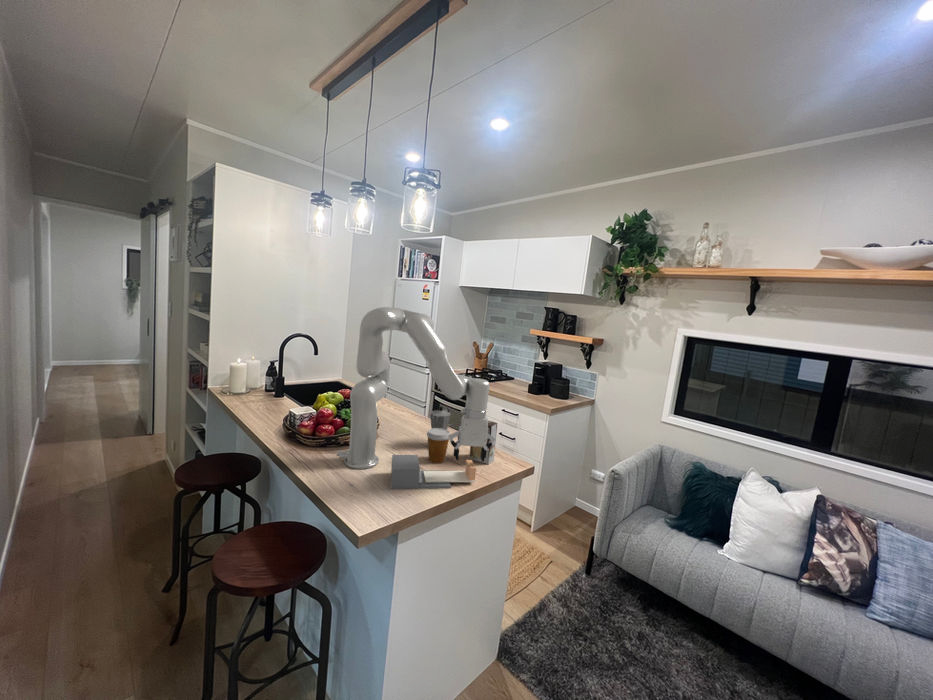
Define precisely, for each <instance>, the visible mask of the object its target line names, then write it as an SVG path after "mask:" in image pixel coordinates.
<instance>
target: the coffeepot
mask: <svg viewBox="0 0 933 700" xmlns="http://www.w3.org/2000/svg"><path fill="white" fill-rule="evenodd" d="M443 408H444V407H443V406H439V408H438V409H439V410H438V409H437V410H432V411H430V414H429V415H430V427H431V428H430V429H432V428H443V429H446V430H448V427H449V422H450V419H451V411H450V409H449V408H444V409H443ZM447 448H448V446H447Z"/></svg>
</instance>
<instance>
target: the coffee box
mask: <svg viewBox="0 0 933 700" xmlns="http://www.w3.org/2000/svg"><path fill="white" fill-rule="evenodd" d="M497 432H498V422H494V421H490V420H488V434H490V435H491V436H493V437H494V438H495V439H496V440H495V441H494V443H493V444H492V446H491V447H490V448H489V449H488V450H487V452H486V458H484V461H482V460H481V458H480V455H481V448H482V447H483V446H469V458H468V460H472V461H475V462H479V463H483V464H486V465H490V464H491V463H492V462H494V461H495V454H496V452H495V451H496V442H497ZM489 441H490V439H489V438H487V443H488V442H489Z"/></svg>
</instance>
